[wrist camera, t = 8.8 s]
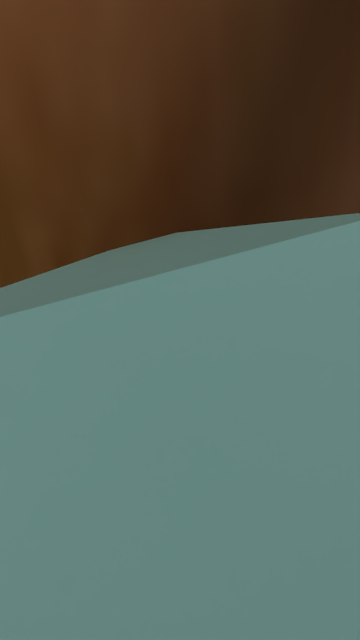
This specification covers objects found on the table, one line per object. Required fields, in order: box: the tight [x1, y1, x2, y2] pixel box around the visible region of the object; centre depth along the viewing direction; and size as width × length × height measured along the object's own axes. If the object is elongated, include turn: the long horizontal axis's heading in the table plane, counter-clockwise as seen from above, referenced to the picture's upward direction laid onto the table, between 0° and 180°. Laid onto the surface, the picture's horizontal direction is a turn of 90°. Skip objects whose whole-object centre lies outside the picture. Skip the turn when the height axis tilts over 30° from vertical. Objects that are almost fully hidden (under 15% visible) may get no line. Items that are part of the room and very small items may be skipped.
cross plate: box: [0, 213, 360, 640], centre depth 9 cm, size 14×3×12 cm, turn 14°
